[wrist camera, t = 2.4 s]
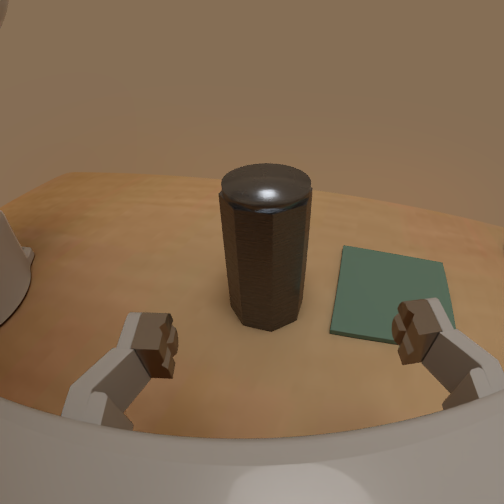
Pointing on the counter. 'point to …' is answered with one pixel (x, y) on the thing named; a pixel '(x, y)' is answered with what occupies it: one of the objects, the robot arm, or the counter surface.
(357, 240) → the counter surface
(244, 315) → the canister
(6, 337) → the counter surface
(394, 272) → the mat
